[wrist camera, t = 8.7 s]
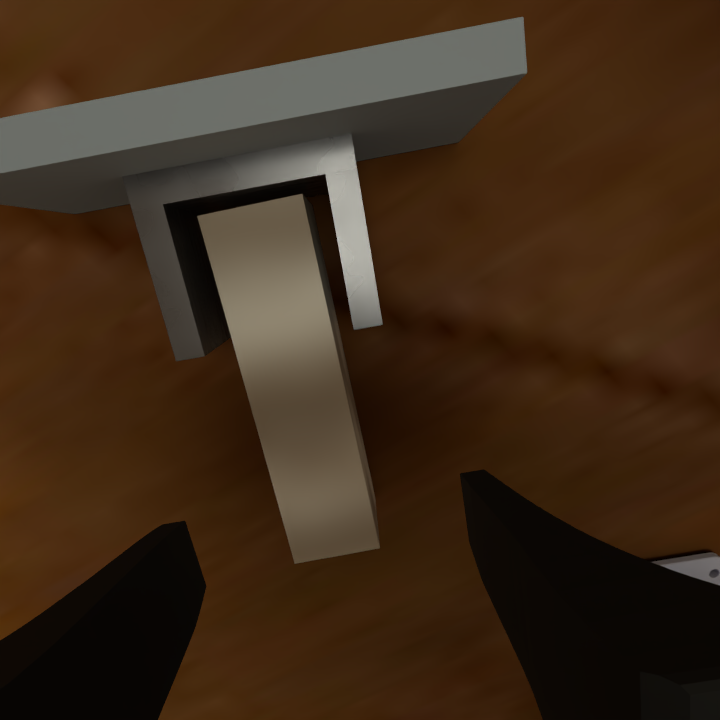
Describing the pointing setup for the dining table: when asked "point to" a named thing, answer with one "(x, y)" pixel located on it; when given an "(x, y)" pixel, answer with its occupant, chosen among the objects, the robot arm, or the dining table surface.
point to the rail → (295, 372)
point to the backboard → (262, 115)
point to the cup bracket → (231, 190)
